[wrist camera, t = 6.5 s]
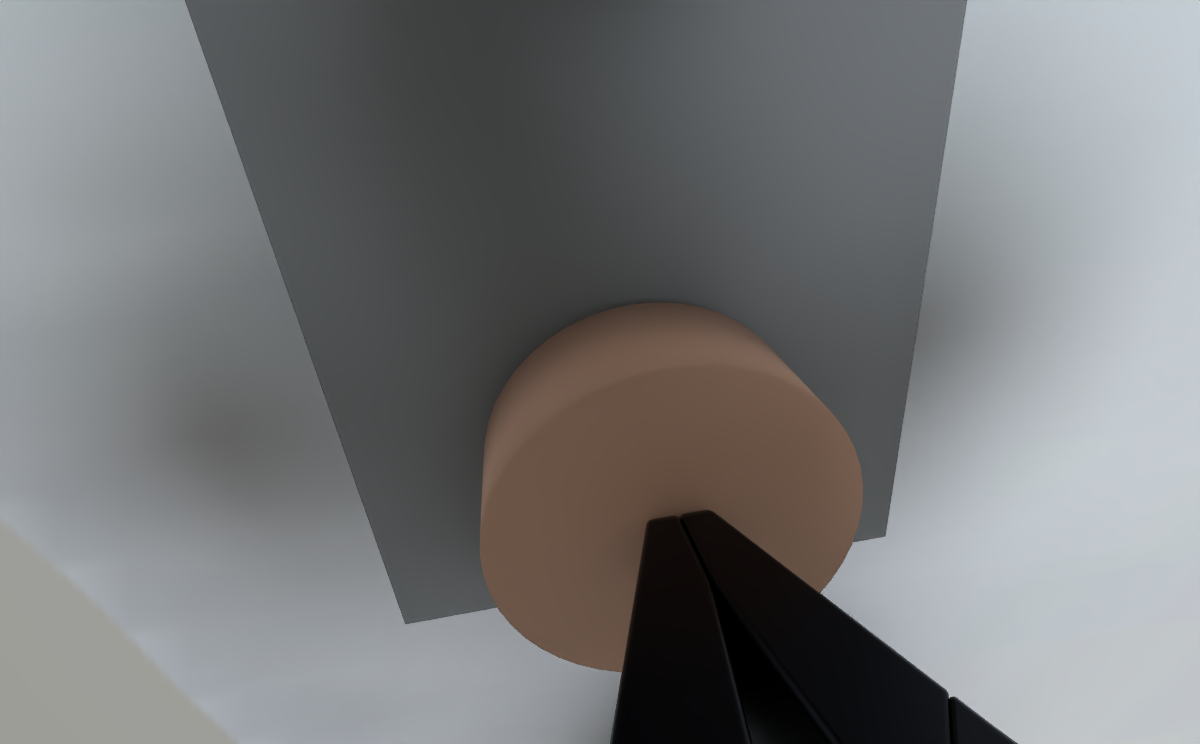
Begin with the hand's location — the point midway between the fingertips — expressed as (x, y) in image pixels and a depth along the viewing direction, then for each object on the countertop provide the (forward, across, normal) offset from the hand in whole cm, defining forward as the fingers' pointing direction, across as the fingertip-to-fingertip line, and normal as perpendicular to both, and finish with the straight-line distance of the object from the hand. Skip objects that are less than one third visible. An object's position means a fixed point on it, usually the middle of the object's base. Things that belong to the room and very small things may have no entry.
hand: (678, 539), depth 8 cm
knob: (+5, 0, 0) cm, 5 cm away
